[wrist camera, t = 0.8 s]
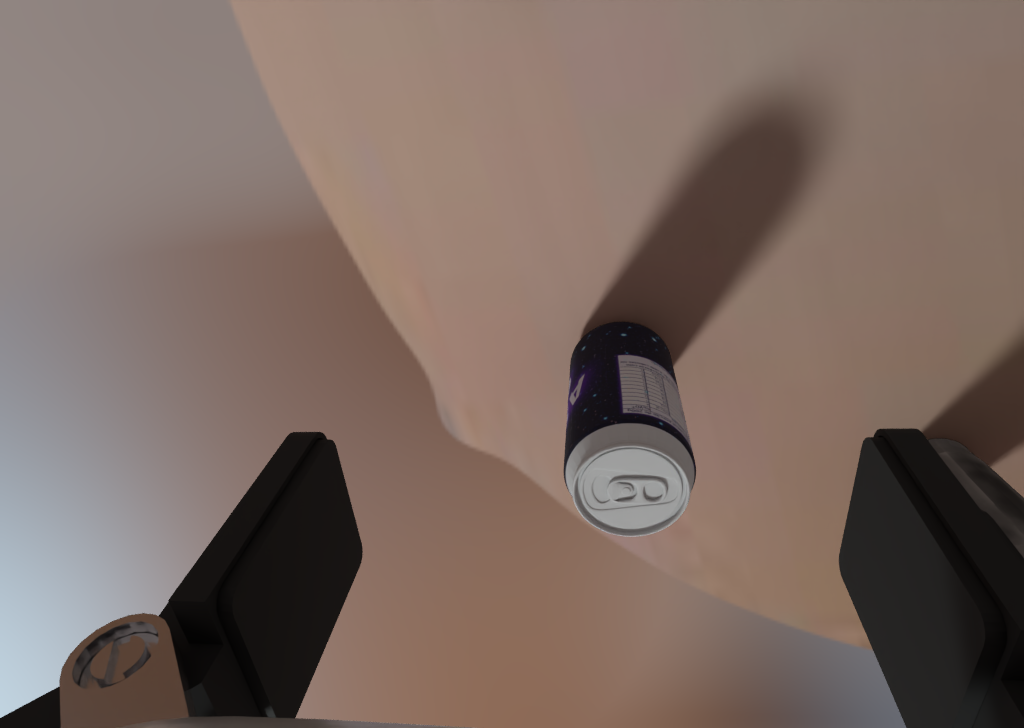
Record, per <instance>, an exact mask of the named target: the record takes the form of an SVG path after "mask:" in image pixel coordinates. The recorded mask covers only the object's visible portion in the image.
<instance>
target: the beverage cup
mask: <svg viewBox="0 0 1024 728" xmlns="http://www.w3.org/2000/svg"><path fill="white" fill-rule="evenodd" d="M928 441H929V443H930V444H931V445H932V447H933V448H934V449H935V450H936V452H937V453H938V454H939V456H940V457H941V458H942V460H943V461H944V462H945V464H946V465H947V466H948V467H949V469H950V470H951V471H952V473H953V474H954V475H955V477H956V478H957V479H958V481H959V482H960V483H961V485H962V486H963V487H964V488H965V490H966V491H967V492H968V494H969V495H970V496H971V498H972V499H973V500H974V502H975V503H976V504H977V505H978V507H979V508H980V509H981V510H983V511H985V512H987V513H988V514H989V515H990V516H991V517H992V518H993V519H994V520H995V521H996V523H997V524H998V525H999V527H1000V528H1001V529H1002V531H1003V532H1004V533H1005V534H1006V536H1007V537H1008V538H1009V540H1010V541H1011V542H1012V543H1013V545H1014V546H1015V547H1016V549H1017V550H1018V551H1019V552H1020V554H1021V555H1022V556H1023V558H1024V498H1023V497H1022V496H1021V495H1020V494H1019V493H1018V492H1017V491H1015V490H1014V489H1013V488H1012V487H1011V486H1010V485H1009V484H1008V483H1007V482H1006V481H1004V480H1003V479H1002V478H1001V477H1000V476H999V475H998V474H997V473H996V472H995V471H993V470H992V469H991V468H990V467H989V466H988V465H987V464H986V463H985V462H984V461H982V460H980V459H979V458H977V457H976V456H975V455H974V454H972V453H971V452H970V451H969V450H968V449H967V448H966V447H965V446H963V445H962V444H960V443H959V442H957V441H953V440H949V439H930V440H928Z"/></svg>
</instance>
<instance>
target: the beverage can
mask: <svg viewBox="0 0 1024 728" xmlns="http://www.w3.org/2000/svg"><path fill="white" fill-rule="evenodd" d="M695 477H696V465H695V460H694V456H693V452H692V447H691V443H690V439H689V434H688V430H687V425H686V421H685V417H684V412H683V408H682V404H681V399H680V395H679V391H678V386H677V382H676V378H675V373H674V369H673V365H672V360H671V356H670V353H669V350H668V348H667V346H666V344H665V343H664V341H663V340H662V339H661V338H660V337H659V336H658V335H657V334H656V333H655V332H653V331H652V330H650V329H648V328H647V327H644V326H642V325H639V324H635V323H630V322H614V323H608V324H605V325H602V326H599V327H597V328H595V329H593V330H592V331H590V332H589V333H587V334H586V335H585V336H584V337H583V338H582V339H581V340H580V341H579V343H578V344H577V346H576V347H575V349H574V351H573V354H572V358H571V364H570V379H569V395H568V411H567V427H566V443H565V459H564V479H565V483H566V486H567V489H568V491H569V493H570V494H571V496H572V497H573V501H574V503H575V506H576V508H577V510H578V511H579V513H580V514H581V515H582V517H583V518H584V519H585V520H586V521H588V522H589V523H590V524H591V525H593V526H594V527H596V528H598V529H600V530H602V531H604V532H607V533H610V534H614V535H618V536H626V537H637V536H645V535H649V534H653V533H656V532H658V531H661V530H663V529H665V528H667V527H668V526H670V525H671V524H673V523H674V522H675V521H676V520H677V519H678V518H679V517H680V516H681V515H682V513H683V512H684V510H685V509H686V507H687V504H688V502H689V498H690V492H691V490H692V488H693V485H694V482H695Z"/></svg>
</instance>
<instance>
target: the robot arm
mask: <svg viewBox="0 0 1024 728" xmlns="http://www.w3.org/2000/svg"><path fill="white" fill-rule="evenodd" d="M361 560H362V543H361V540H360V536H359V532H358V528H357V524H356V520H355V517H354V513H353V509H352V505H351V502H350V498H349V494H348V490H347V487H346V483H345V479H344V475H343V471H342V468H341V464H340V460H339V456H338V452H337V448H336V445H335V443H334V441H333V440H327V438H326V436H325V435H324V434H323V433H321V432H293V433H290V434H289V435H288V436H287V437H286V439H285V440H284V442H283V443H282V444H281V446H280V447H279V448H278V450H277V451H276V453H275V454H274V455H273V457H272V458H271V460H270V461H269V462H268V464H267V465H266V466H265V468H264V469H263V470H262V472H261V473H260V475H259V476H258V477H257V479H256V480H255V482H254V483H253V484H252V486H251V487H250V488H249V490H248V491H247V493H246V494H245V495H244V497H243V498H242V499H241V501H240V502H239V504H238V505H237V506H236V508H235V509H234V511H233V512H232V513H231V515H230V516H229V518H228V519H227V520H226V522H225V523H224V524H223V526H222V527H221V528H220V530H219V531H218V533H217V534H216V536H215V537H214V538H213V540H212V541H211V542H210V544H209V545H208V546H207V548H206V549H205V551H204V552H203V553H202V555H201V556H200V558H199V559H198V560H197V562H196V563H195V565H194V566H193V567H192V569H191V570H190V571H189V573H188V574H187V576H186V577H185V578H184V580H183V581H182V583H181V584H180V585H179V586H178V588H177V589H176V591H175V592H174V593H173V595H172V596H171V598H170V599H169V602H168V604H167V605H166V607H165V608H164V609H163V611H162V612H161V614H160V615H159V616H157V615H153V614H145V613H142V614H135V615H129V616H126V617H123V618H120V619H117V620H114V621H112V622H110V623H108V624H106V625H105V626H103V627H101V628H99V629H97V630H96V631H95V632H93V633H92V634H91V635H89V636H88V637H87V638H86V639H84V640H83V641H82V642H81V643H80V644H79V645H78V646H77V647H76V648H75V650H74V651H73V652H72V653H71V654H70V656H69V657H68V659H67V660H66V662H65V664H64V666H63V668H62V671H61V676H60V687H58V688H56V689H54V690H52V691H50V692H48V693H46V694H45V695H43V696H41V697H39V698H37V699H35V700H33V701H31V702H30V703H28V704H26V705H24V706H22V707H20V708H19V709H16V710H15V711H13V712H11V713H9V714H7V715H5V716H4V717H2V718H0V728H469V727H451V726H434V725H433V726H432V725H416V724H398V723H379V722H361V721H342V720H324V719H297V718H295V717H296V715H297V712H298V710H299V708H300V706H301V703H302V701H303V698H304V696H305V693H306V691H307V689H308V687H309V684H310V682H311V680H312V677H313V675H314V673H315V670H316V668H317V666H318V663H319V661H320V658H321V656H322V654H323V651H324V649H325V647H326V644H327V642H328V640H329V637H330V635H331V633H332V630H333V628H334V626H335V623H336V621H337V618H338V616H339V614H340V611H341V609H342V607H343V604H344V602H345V600H346V597H347V595H348V592H349V590H350V588H351V586H352V583H353V581H354V579H355V576H356V574H357V571H358V569H359V567H360V564H361ZM839 567H840V572H841V576H842V578H843V581H844V583H845V585H846V588H847V590H848V592H849V595H850V597H851V599H852V602H853V604H854V606H855V609H856V611H857V613H858V616H859V618H860V620H861V623H862V625H863V627H864V630H865V632H866V634H867V637H868V639H869V641H870V644H871V646H872V648H873V651H874V653H875V655H876V658H877V660H878V662H879V665H880V667H881V669H882V672H883V674H884V676H885V679H886V681H887V683H888V685H889V688H890V690H891V693H892V695H893V697H894V700H895V702H896V704H897V707H898V709H899V711H900V713H901V716H902V718H903V720H904V723H905V725H906V727H907V728H1024V558H1023V556H1022V555H1021V554H1020V552H1019V551H1018V550H1017V549H1016V547H1015V546H1014V545H1013V543H1012V542H1011V541H1010V540H1009V538H1008V537H1007V536H1006V534H1005V533H1004V532H1003V531H1002V529H1001V528H1000V527H999V525H998V524H997V523H996V521H995V520H994V519H993V518H992V517H991V516H990V515H989V514H988V513H987V512H985V511H983V510H981V509H980V508H979V507H978V505H977V504H976V503H975V502H974V500H973V499H972V498H971V496H970V495H969V494H968V492H967V491H966V490H965V488H964V487H963V486H962V485H961V483H960V482H959V481H958V479H957V478H956V477H955V475H954V474H953V473H952V471H951V470H950V469H949V467H948V466H947V465H946V464H945V462H944V461H943V460H942V458H941V457H940V456H939V454H938V453H937V452H936V450H935V449H934V448H933V447H932V445H931V444H930V443H929V441H928V440H927V439H926V437H925V436H924V435H923V433H922V432H921V431H919V430H918V429H879V430H877V431H876V433H875V434H874V437H868V438H865V440H864V441H863V444H862V448H861V453H860V458H859V463H858V468H857V472H856V477H855V482H854V487H853V491H852V496H851V501H850V506H849V511H848V515H847V520H846V525H845V530H844V535H843V539H842V544H841V549H840V554H839Z"/></svg>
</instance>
